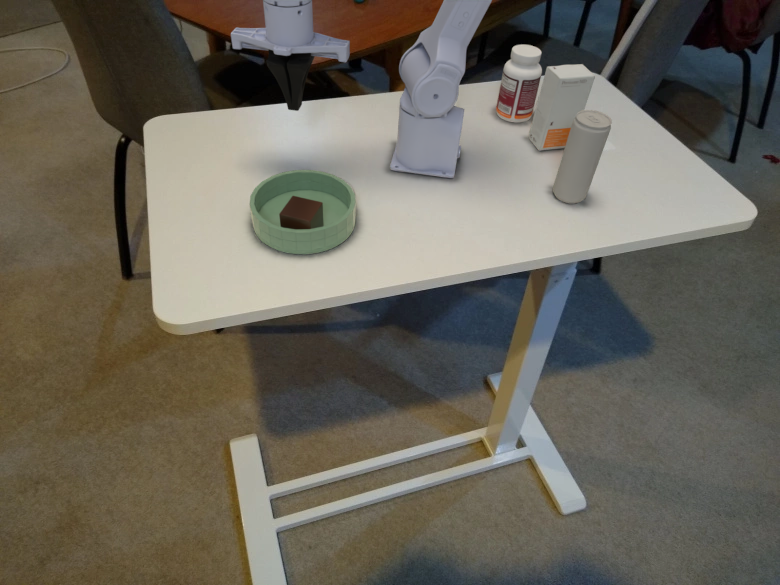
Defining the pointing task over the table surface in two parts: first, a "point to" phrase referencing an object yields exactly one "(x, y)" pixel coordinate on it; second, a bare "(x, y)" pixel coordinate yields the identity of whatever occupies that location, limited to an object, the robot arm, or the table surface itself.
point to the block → (302, 214)
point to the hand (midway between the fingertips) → (295, 106)
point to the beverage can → (581, 155)
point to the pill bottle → (519, 84)
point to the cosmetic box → (559, 104)
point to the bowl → (311, 186)
